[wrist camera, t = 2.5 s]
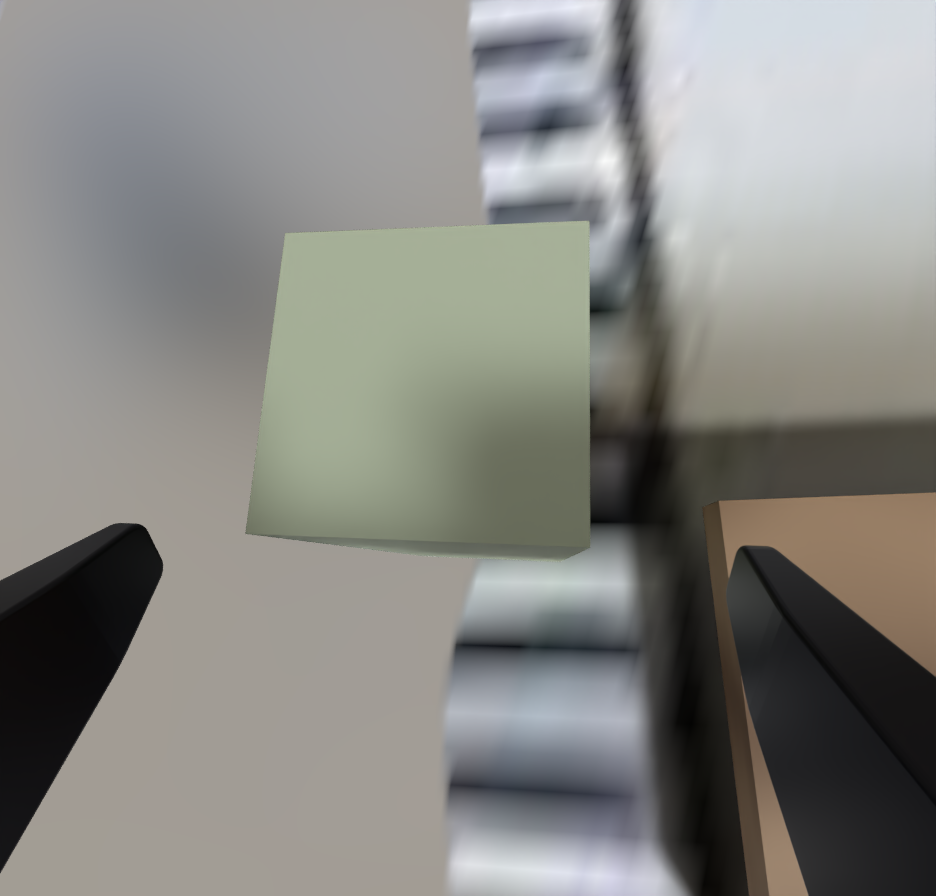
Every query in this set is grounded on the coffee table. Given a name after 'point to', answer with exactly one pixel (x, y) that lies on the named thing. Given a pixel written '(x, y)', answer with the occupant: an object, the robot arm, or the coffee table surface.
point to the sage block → (430, 392)
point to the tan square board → (855, 584)
